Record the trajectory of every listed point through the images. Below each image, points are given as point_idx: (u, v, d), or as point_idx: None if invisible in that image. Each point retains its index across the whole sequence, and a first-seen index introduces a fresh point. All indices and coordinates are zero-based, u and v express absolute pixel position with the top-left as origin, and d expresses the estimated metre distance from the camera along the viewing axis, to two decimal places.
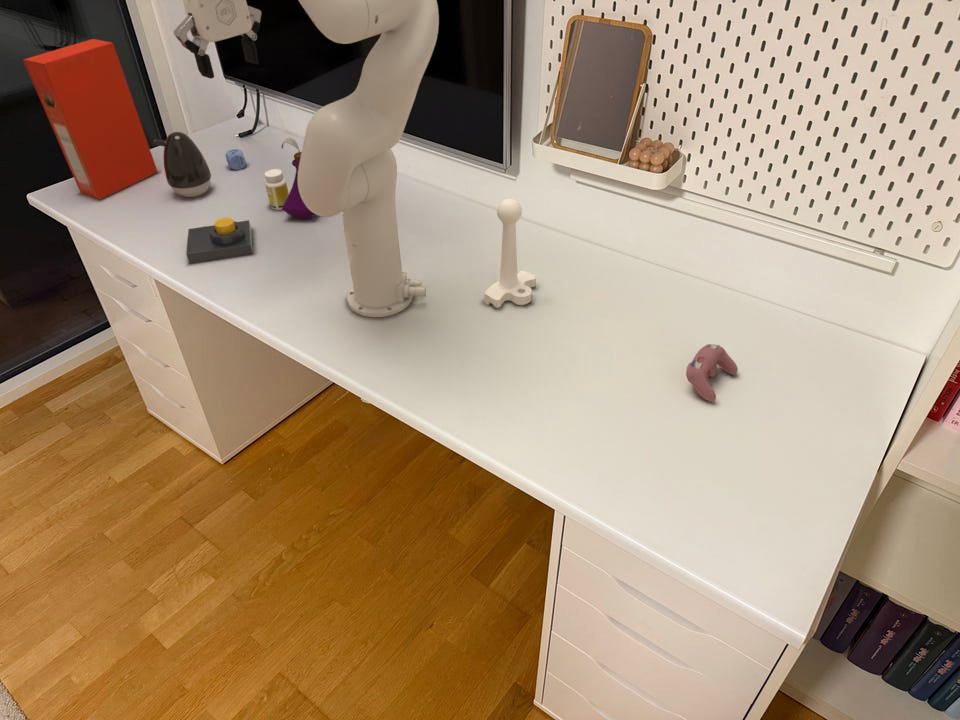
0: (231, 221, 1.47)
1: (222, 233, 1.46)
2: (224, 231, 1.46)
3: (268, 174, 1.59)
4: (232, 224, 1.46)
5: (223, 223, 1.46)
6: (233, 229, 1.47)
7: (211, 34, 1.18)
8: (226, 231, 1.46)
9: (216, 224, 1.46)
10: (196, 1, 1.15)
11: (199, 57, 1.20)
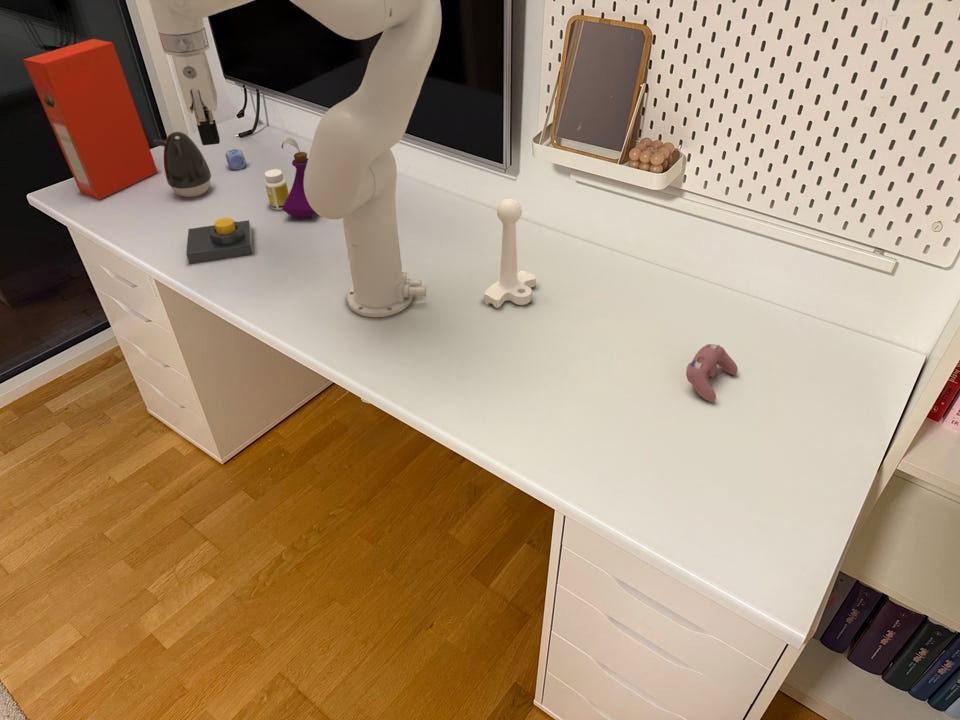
0: (231, 221, 1.47)
1: (222, 233, 1.46)
2: (224, 231, 1.46)
3: (268, 174, 1.59)
4: (232, 224, 1.46)
5: (223, 223, 1.46)
6: (233, 229, 1.47)
7: (215, 103, 1.23)
8: (226, 231, 1.46)
9: (216, 224, 1.46)
10: (204, 75, 1.19)
11: (209, 126, 1.28)
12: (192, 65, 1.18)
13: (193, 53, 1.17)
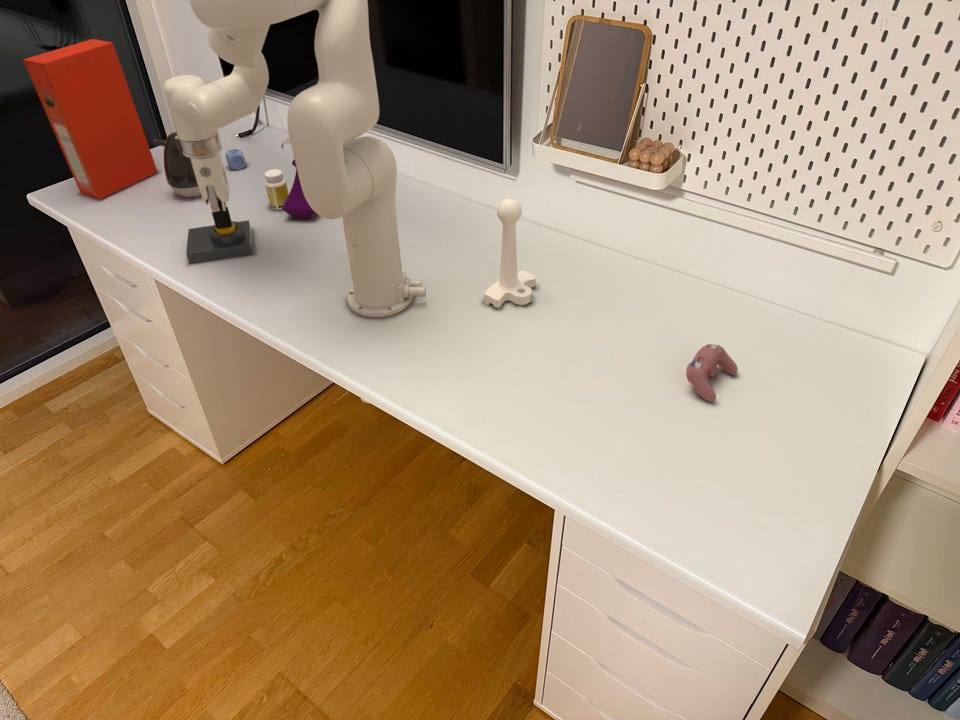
0: (232, 225, 1.48)
1: None
2: None
3: (268, 174, 1.59)
4: (233, 228, 1.47)
5: None
6: None
7: (227, 195, 1.40)
8: None
9: None
10: (218, 173, 1.36)
11: (222, 213, 1.44)
12: (207, 166, 1.34)
13: (208, 155, 1.34)
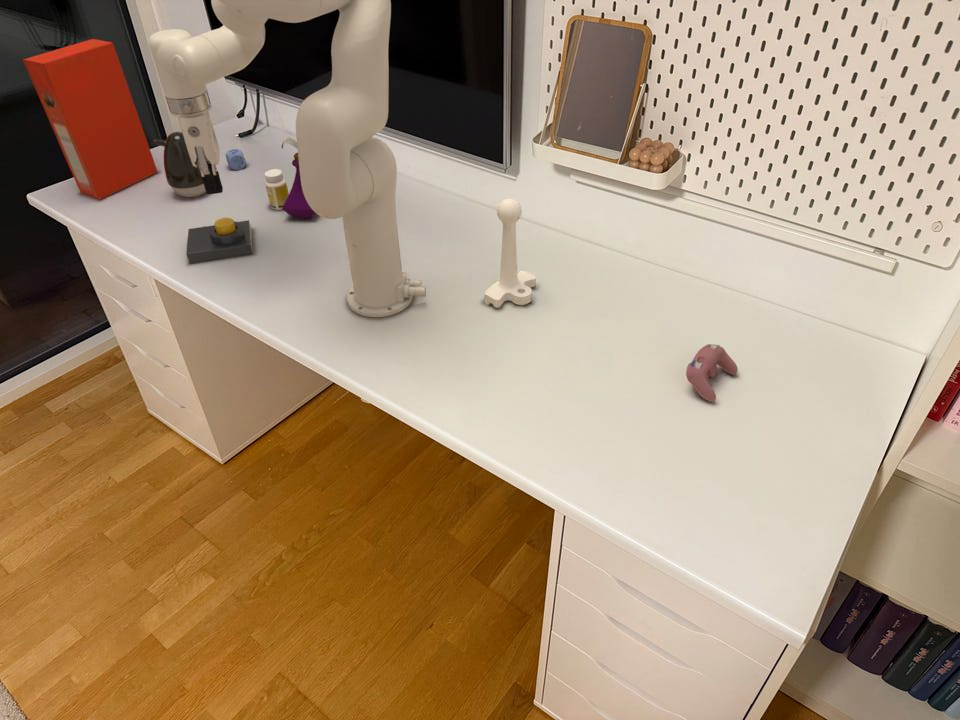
0: (231, 221, 1.47)
1: (222, 233, 1.46)
2: (224, 231, 1.46)
3: (268, 174, 1.59)
4: (232, 224, 1.46)
5: (223, 223, 1.46)
6: (233, 229, 1.47)
7: (217, 158, 1.34)
8: (226, 231, 1.46)
9: (216, 224, 1.46)
10: (207, 133, 1.30)
11: (213, 178, 1.39)
12: (196, 125, 1.29)
13: (197, 114, 1.29)
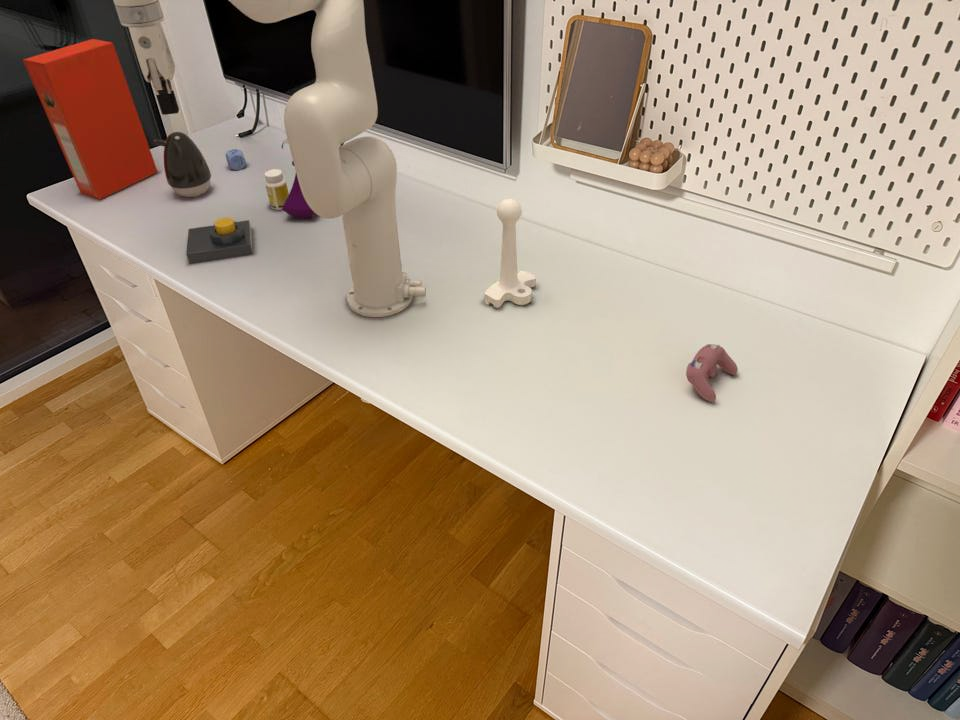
0: (231, 221, 1.47)
1: (222, 233, 1.46)
2: (224, 231, 1.46)
3: (268, 174, 1.59)
4: (232, 224, 1.46)
5: (223, 223, 1.46)
6: (233, 229, 1.47)
7: (171, 73, 1.31)
8: (226, 231, 1.46)
9: (216, 224, 1.46)
10: (159, 45, 1.27)
11: (167, 96, 1.35)
12: (147, 35, 1.25)
13: (148, 24, 1.25)
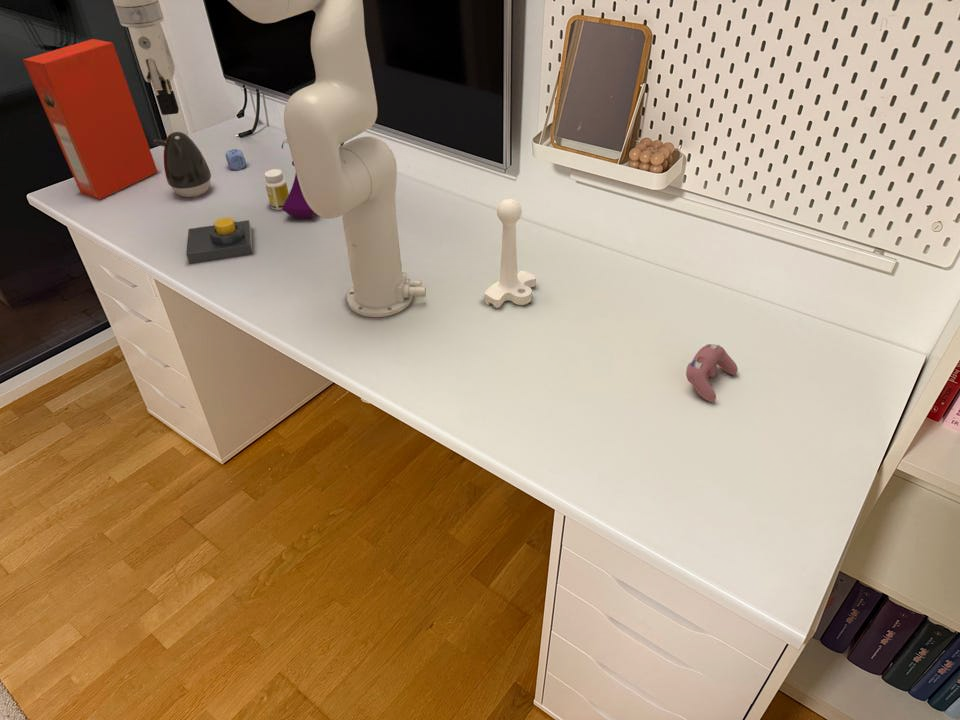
0: (231, 221, 1.47)
1: (222, 233, 1.46)
2: (224, 231, 1.46)
3: (268, 174, 1.59)
4: (232, 224, 1.46)
5: (223, 223, 1.46)
6: (233, 229, 1.47)
7: (170, 73, 1.31)
8: (226, 231, 1.46)
9: (216, 224, 1.46)
10: (158, 45, 1.27)
11: (167, 96, 1.35)
12: (146, 36, 1.25)
13: (147, 24, 1.25)
